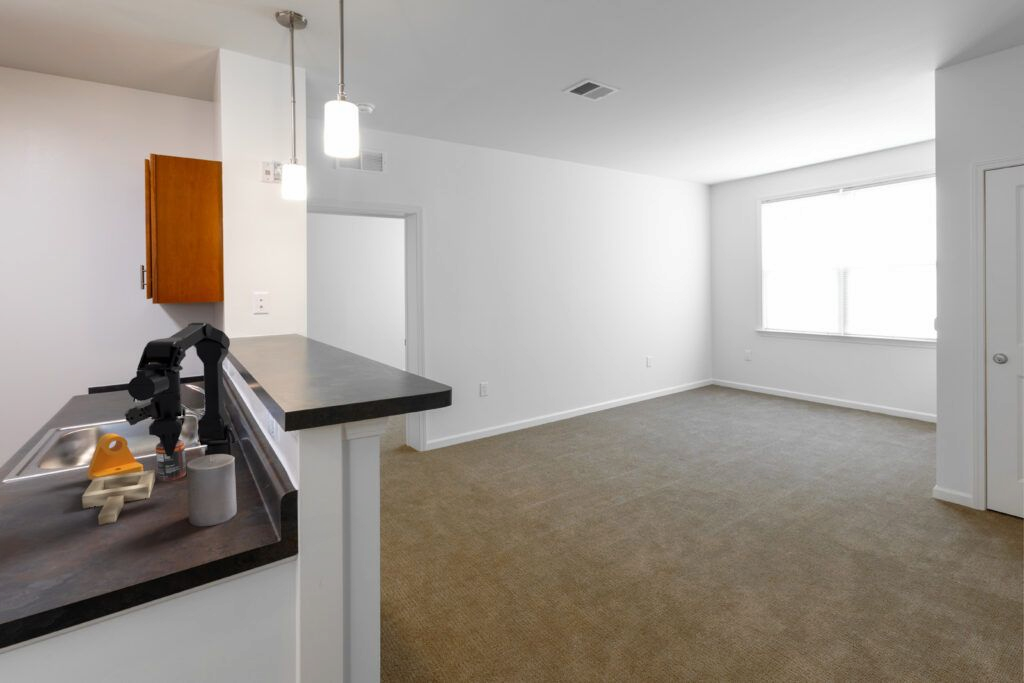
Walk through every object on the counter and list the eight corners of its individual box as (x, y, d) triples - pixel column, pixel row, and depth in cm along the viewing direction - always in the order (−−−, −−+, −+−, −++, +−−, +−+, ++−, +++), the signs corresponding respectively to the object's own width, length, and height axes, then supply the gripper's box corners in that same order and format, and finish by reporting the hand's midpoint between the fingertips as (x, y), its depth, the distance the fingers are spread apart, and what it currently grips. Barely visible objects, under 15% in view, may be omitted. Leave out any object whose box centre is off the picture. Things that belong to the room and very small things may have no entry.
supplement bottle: (181, 471, 131) (179, 428, 129) (190, 476, 127) (187, 433, 126) (154, 477, 126) (151, 434, 125) (162, 484, 122) (159, 438, 121)
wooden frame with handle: (155, 480, 139) (154, 469, 138) (142, 517, 117) (141, 504, 117) (95, 489, 132) (94, 478, 132) (70, 529, 111) (68, 516, 110)
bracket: (98, 486, 134) (94, 443, 133) (88, 480, 138) (84, 438, 137) (144, 474, 143) (141, 433, 142) (134, 469, 147) (131, 429, 146)
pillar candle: (184, 516, 118) (181, 454, 116) (230, 503, 125) (227, 445, 123) (195, 531, 111) (191, 466, 109) (243, 517, 118) (240, 456, 116)
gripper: (132, 387, 128) (136, 446, 130) (119, 402, 112) (124, 469, 114) (184, 383, 134) (187, 440, 135) (178, 397, 118) (182, 461, 119)
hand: (170, 452), depth 126 cm, fingers closed on supplement bottle, 6 cm apart
